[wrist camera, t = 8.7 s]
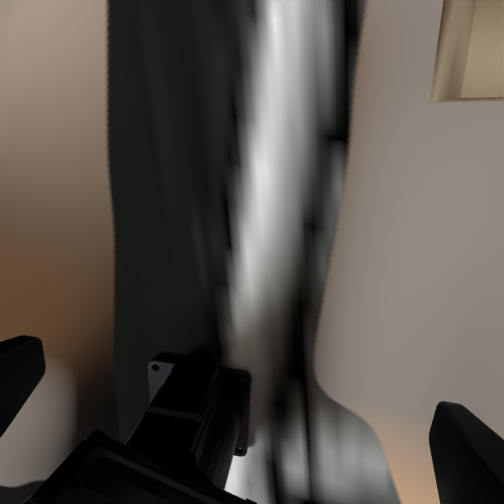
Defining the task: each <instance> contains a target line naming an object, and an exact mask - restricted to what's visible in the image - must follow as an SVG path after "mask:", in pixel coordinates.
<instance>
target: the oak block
mask: <svg viewBox="0 0 504 504" xmlns="http://www.w3.org/2000/svg"><path fill="white" fill-rule="evenodd" d="M471 101H472V102H473V101H504V0H443V7H442V14H441V21H440V29H439V36H438V43H437V51H436V58H435V65H434V73H433V80H432V87H431V94H430V102H471Z"/></svg>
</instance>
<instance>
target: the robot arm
mask: <svg viewBox="0 0 504 504" xmlns="http://www.w3.org/2000/svg"><path fill="white" fill-rule="evenodd" d="M155 364H156V365H158V366H159V367H156V366H155ZM45 368H46V365H45V359H44V351H43V346H42V341H41V340H40V339H39V338H37V337H33V336H27V335H21V336H18V337H14V338H11V339H8V340H5V341H1V342H0V437H1V436H2V435H3V434H4V432H5V431H6V429H7V428H8V427H9V425H10V424H11V422H12V421H13V419H14V418H15V417H16V415H17V414H18V412H19V411H20V409H21V408H22V406H23V405H24V403H25V402H26V401H27V399H28V398H29V396H30V395H31V393H32V392H33V390H34V389H35V387H36V386H37V385H38V383H39V382H40V380H41V378H42V377H43V375H44V373H45ZM148 378H149V394H150V405H149V406H148V408H147V410H146V411H145V413H144V415H143V416H142V418H141V420H140V421H139V423H138V425H137V426H136V428H135V430H134V431H133V433H132V435H131V436H130V438H129V440H128V441H127V443H126V445H125V444H123V443H121V442H119V441H116V440H114V439H112V438H110V437H108V436H106V433H104V432H102V431H100V430H98V429H96V430H95V431H94V432H93V433H92V434H91V435H90V436H89V438H88V439H87V440H86V441H85V440H83V441H82V442H81V443H80V444H79V445H78V446H77V447H76V449H75V450H74V451H73V452H72V453H71V454H70V455H69V456H68V457H67V458H66V460H65V461H64V462H63V463H62V464H61V465H60V466H59V467H58V468H57V469H56V470H55V471H54V473H53V474H52V475H51V476H50V477H49V478H48V479H47V480H46V481H45V482H44V483H43V484H42V485H41V487H40V488H39V489H38V490H37V491H36V492H35V493H34V494H33V495H32V496H31V497H30V498H28V499H27V500H26V501H25V502H23V503H22V504H257V503H256V502H254V501H251V500H249V499H246V500H244V499H242V498H240V497H238V496H236V495H233V494H231V493H229V492H227V491H225V490H224V489H225V485H226V482H227V478H228V474H229V470H230V466H231V462H232V459H233V455H234V456H241V457H242V456H245V455H246V453H247V449H248V439H249V422H250V404H251V387H252V376H251V374H250V373H249V372H247V371H244V370H238V369H232V368H225V367H219V366H212V365H205V364H199V363H192V362H186V361H179V360H173V359H166V358H160V357H154V358H152V360H151V361H150V362H149V364H148ZM240 378H244V379H246V381H243V380H241V379H240ZM429 445H430V451H431V456H432V461H433V467H434V472H435V478H436V483H437V489H438V494H439V499H440V504H504V440H503V439H502V438H501V437H500V436H499V435H498V434H496V433H495V432H494V431H493V430H492V429H490V428H489V427H488V426H487V425H485V424H484V423H483V422H482V421H481V420H480V419H479V418H477V417H476V416H475V415H474V414H473V413H471V412H470V411H469V410H468V409H467V408H465V407H464V406H463V405H461V404H457V403H450V402H445V401H442V402H439V404H438V405H437V407H436V411H435V414H434V418H433V421H432V425H431V428H430V432H429ZM240 448H242V449H240Z"/></svg>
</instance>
